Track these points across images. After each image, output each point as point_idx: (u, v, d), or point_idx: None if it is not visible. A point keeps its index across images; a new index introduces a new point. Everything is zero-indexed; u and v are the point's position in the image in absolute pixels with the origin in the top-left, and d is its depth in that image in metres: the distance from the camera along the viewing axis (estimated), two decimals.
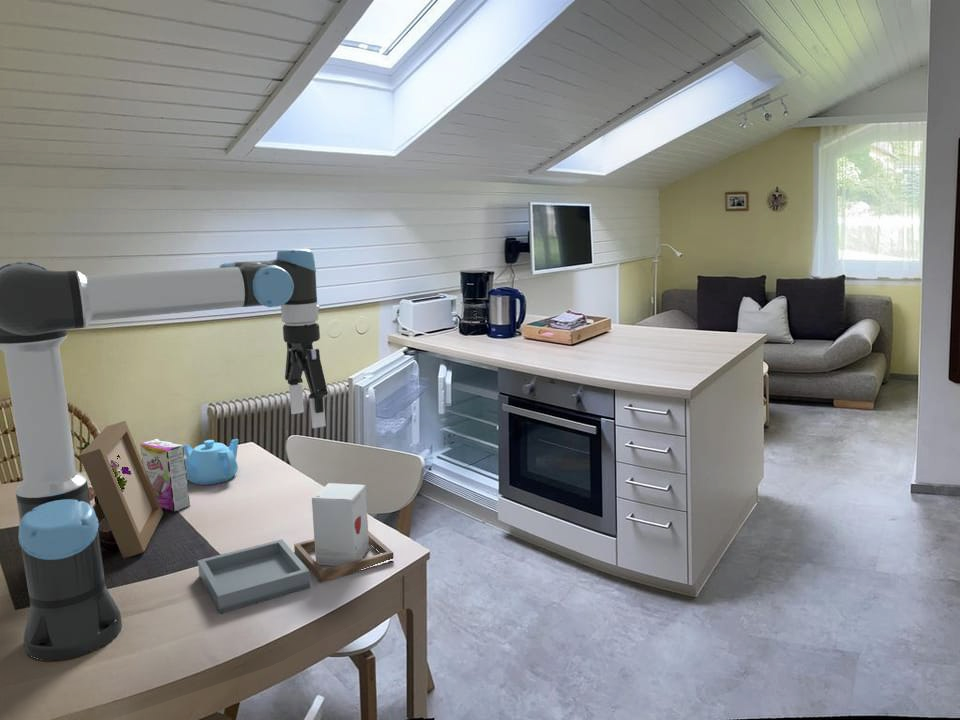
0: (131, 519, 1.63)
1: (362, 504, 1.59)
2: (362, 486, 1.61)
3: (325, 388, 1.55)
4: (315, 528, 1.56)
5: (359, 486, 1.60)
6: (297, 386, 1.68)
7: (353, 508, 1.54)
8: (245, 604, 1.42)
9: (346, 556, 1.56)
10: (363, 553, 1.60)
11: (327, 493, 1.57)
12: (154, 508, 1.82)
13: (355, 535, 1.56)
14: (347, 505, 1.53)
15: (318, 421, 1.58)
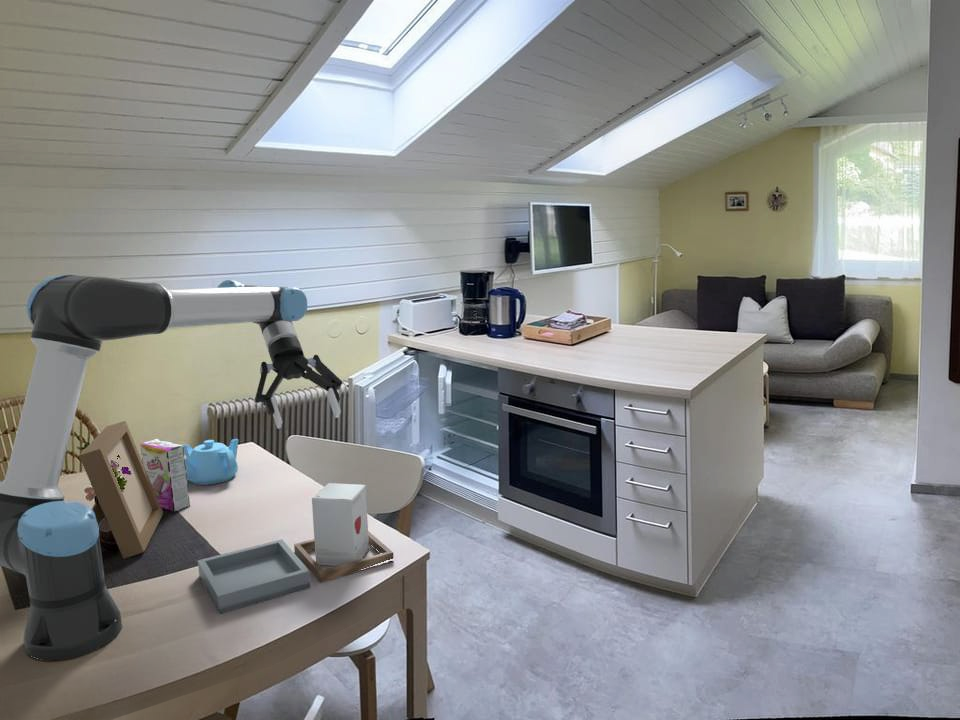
0: (131, 519, 1.63)
1: (362, 504, 1.59)
2: (362, 486, 1.61)
3: None
4: (315, 528, 1.56)
5: (359, 486, 1.60)
6: None
7: (353, 508, 1.54)
8: (245, 604, 1.42)
9: (346, 556, 1.56)
10: (363, 553, 1.60)
11: (327, 493, 1.57)
12: (154, 508, 1.82)
13: (355, 535, 1.56)
14: (347, 505, 1.53)
15: None
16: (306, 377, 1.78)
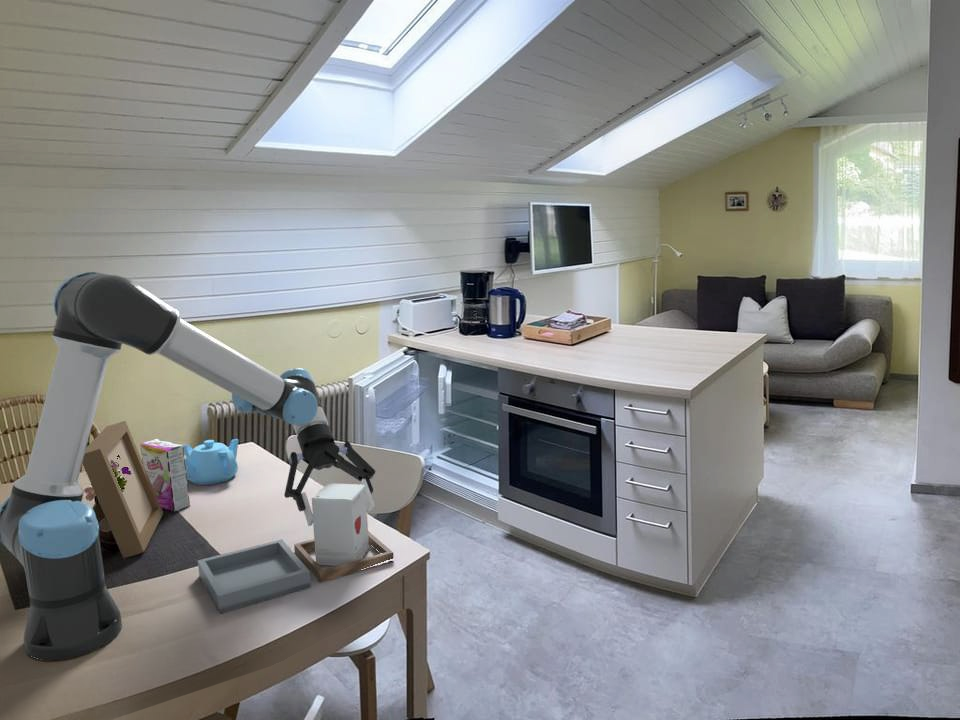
0: (131, 519, 1.63)
1: (362, 504, 1.59)
2: (362, 486, 1.60)
3: None
4: (315, 528, 1.56)
5: (359, 486, 1.60)
6: None
7: (353, 508, 1.54)
8: (245, 604, 1.42)
9: (346, 556, 1.56)
10: (363, 553, 1.60)
11: (327, 494, 1.56)
12: (154, 508, 1.82)
13: (355, 535, 1.56)
14: (347, 505, 1.53)
15: None
16: (337, 466, 1.68)
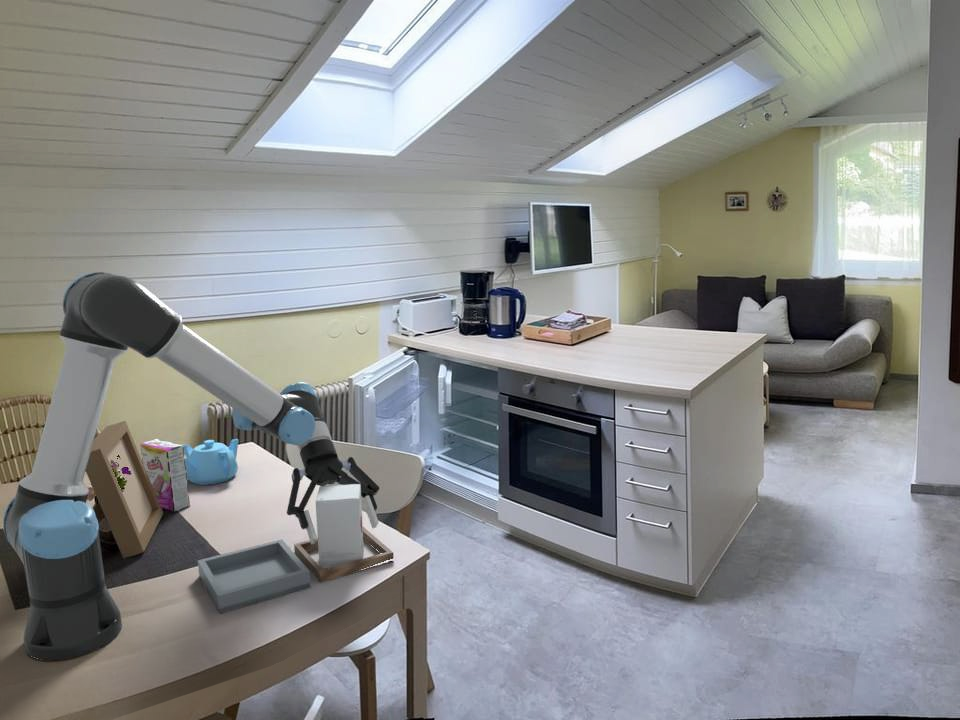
0: (131, 519, 1.63)
1: None
2: (358, 485, 1.61)
3: None
4: (319, 531, 1.54)
5: (355, 485, 1.61)
6: None
7: (359, 506, 1.55)
8: (245, 604, 1.42)
9: (352, 556, 1.56)
10: None
11: (329, 495, 1.55)
12: (154, 508, 1.82)
13: (361, 533, 1.56)
14: (354, 504, 1.54)
15: None
16: (340, 482, 1.65)
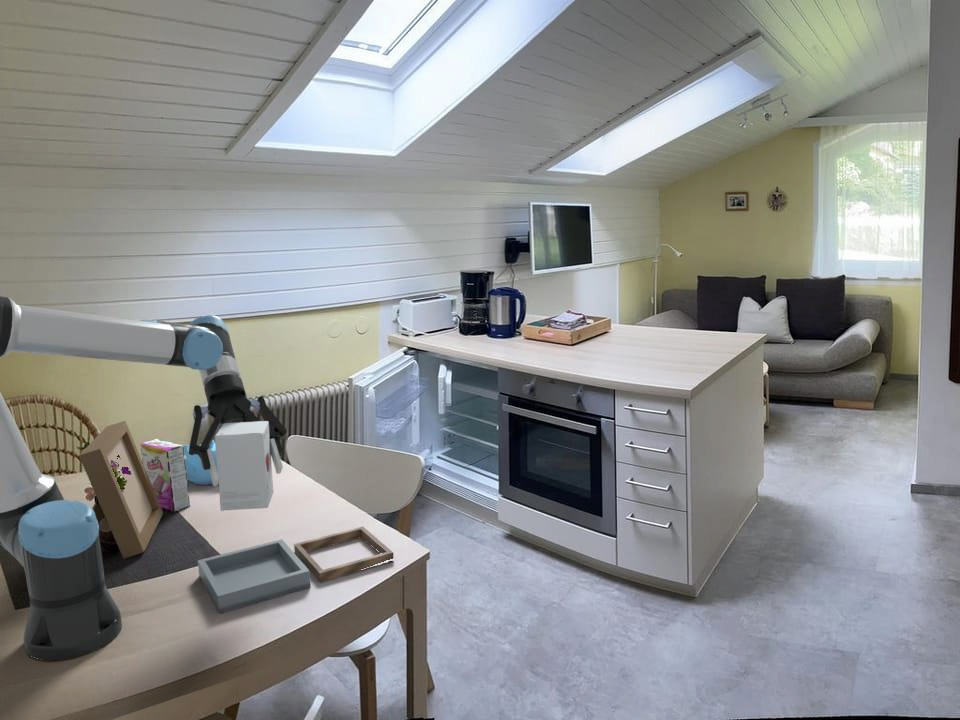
0: (131, 519, 1.63)
1: (268, 441, 1.47)
2: (265, 422, 1.48)
3: None
4: (219, 470, 1.41)
5: (262, 422, 1.48)
6: None
7: (264, 442, 1.42)
8: (245, 604, 1.42)
9: (257, 496, 1.43)
10: (271, 494, 1.48)
11: (230, 431, 1.42)
12: (154, 508, 1.82)
13: (266, 472, 1.43)
14: (258, 439, 1.41)
15: None
16: None
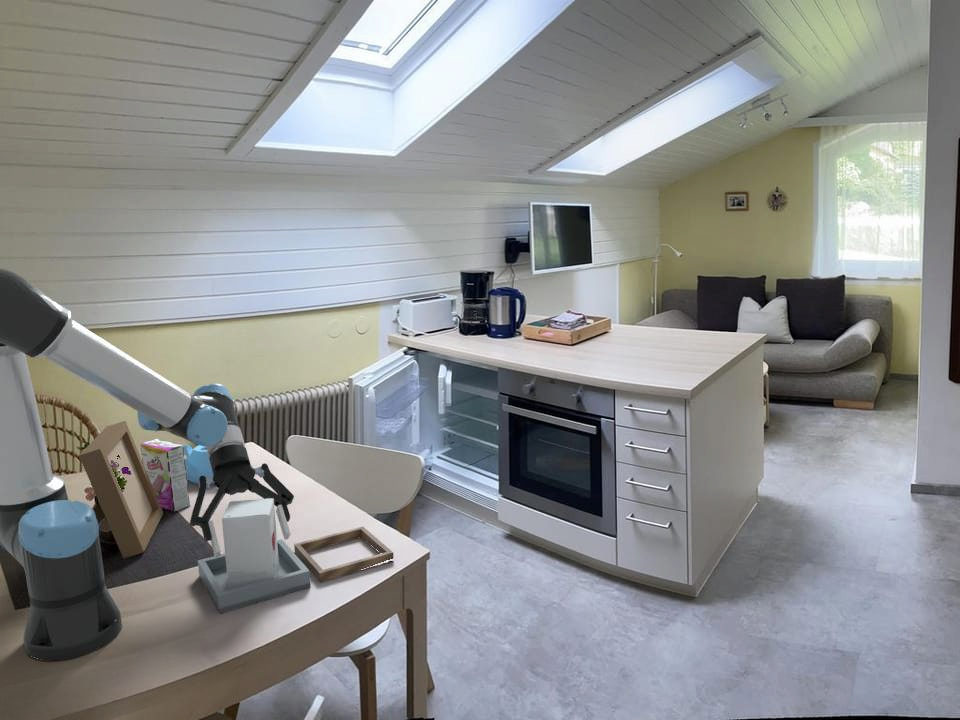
0: (131, 519, 1.63)
1: (273, 519, 1.50)
2: (271, 500, 1.52)
3: None
4: (227, 551, 1.44)
5: (268, 500, 1.51)
6: None
7: (270, 523, 1.45)
8: (245, 604, 1.42)
9: (264, 575, 1.46)
10: (277, 570, 1.52)
11: (237, 512, 1.46)
12: (154, 508, 1.82)
13: (272, 551, 1.47)
14: (264, 520, 1.44)
15: None
16: (252, 490, 1.55)
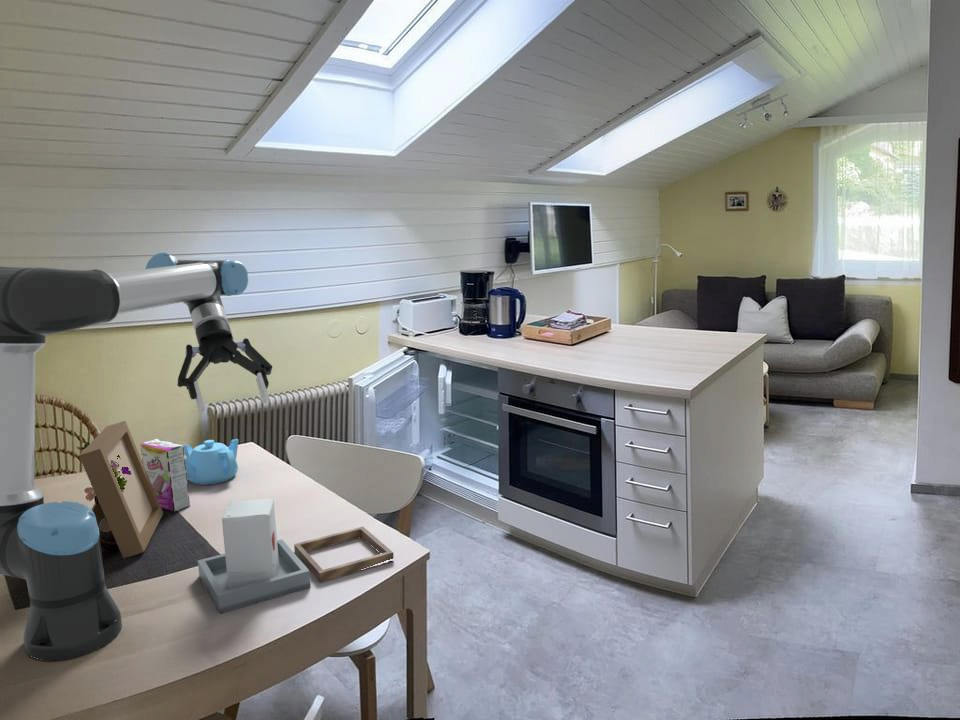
0: (131, 519, 1.63)
1: (273, 519, 1.50)
2: (271, 500, 1.52)
3: None
4: (227, 551, 1.44)
5: (268, 500, 1.51)
6: None
7: (270, 523, 1.45)
8: (245, 604, 1.42)
9: (264, 575, 1.46)
10: (277, 570, 1.52)
11: (237, 512, 1.46)
12: (154, 508, 1.82)
13: (272, 551, 1.47)
14: (264, 520, 1.44)
15: None
16: (235, 361, 1.71)
